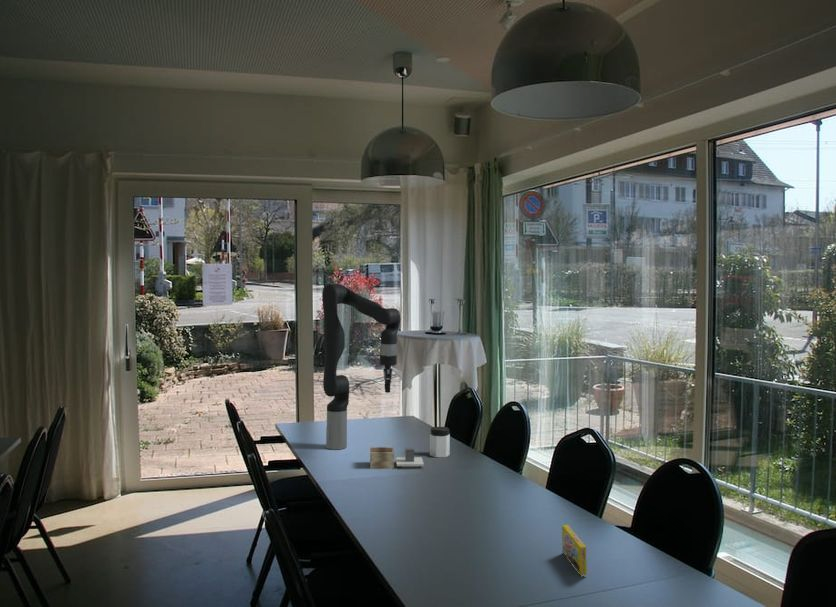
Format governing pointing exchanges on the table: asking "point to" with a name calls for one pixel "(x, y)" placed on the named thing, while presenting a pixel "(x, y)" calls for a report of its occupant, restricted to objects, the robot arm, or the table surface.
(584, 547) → the candy box
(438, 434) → the jar
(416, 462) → the lid
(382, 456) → the crate
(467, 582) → the table surface
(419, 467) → the mat
